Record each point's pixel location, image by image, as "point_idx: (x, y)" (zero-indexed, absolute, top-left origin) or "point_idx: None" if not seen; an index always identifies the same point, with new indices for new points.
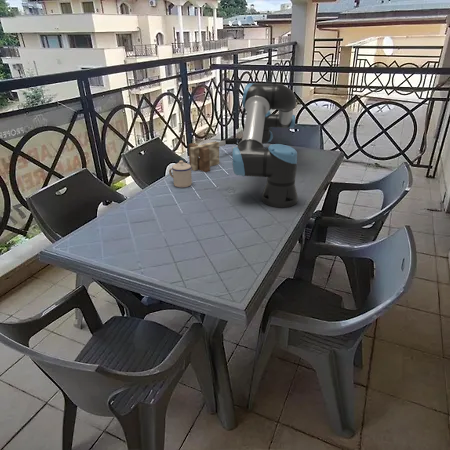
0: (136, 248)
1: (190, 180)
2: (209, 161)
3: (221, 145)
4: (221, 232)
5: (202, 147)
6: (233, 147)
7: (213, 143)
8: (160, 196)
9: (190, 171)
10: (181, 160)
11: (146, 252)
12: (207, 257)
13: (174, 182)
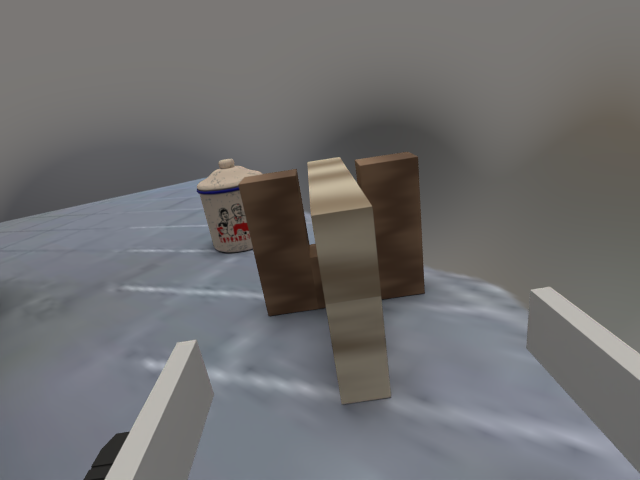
0: (133, 201)
1: (210, 232)
2: (256, 262)
3: (588, 406)
4: (9, 248)
5: (289, 173)
6: (178, 350)
7: (316, 196)
8: None
9: (203, 203)
10: (227, 159)
11: (114, 205)
12: (16, 231)
13: None
